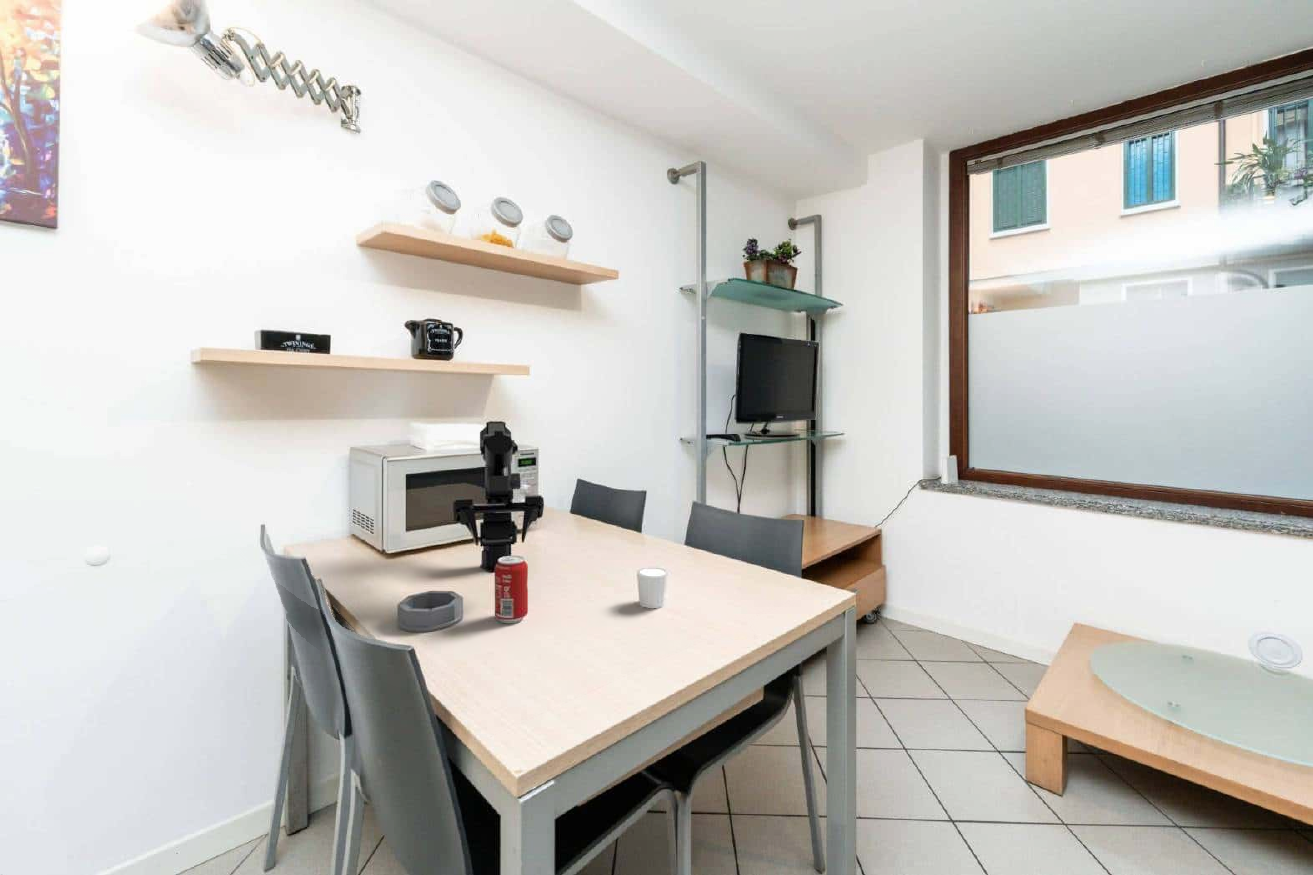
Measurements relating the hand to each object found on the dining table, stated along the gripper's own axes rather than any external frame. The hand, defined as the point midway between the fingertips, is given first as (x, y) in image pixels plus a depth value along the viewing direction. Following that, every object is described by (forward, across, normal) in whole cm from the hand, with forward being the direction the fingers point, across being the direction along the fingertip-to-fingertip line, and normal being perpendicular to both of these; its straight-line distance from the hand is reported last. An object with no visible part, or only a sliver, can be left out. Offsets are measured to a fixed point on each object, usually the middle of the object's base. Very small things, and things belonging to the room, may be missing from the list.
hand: (500, 543), depth 116 cm
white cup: (+15, +31, +4) cm, 35 cm away
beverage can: (+15, +2, +3) cm, 16 cm away
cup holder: (+13, -13, +6) cm, 19 cm away
